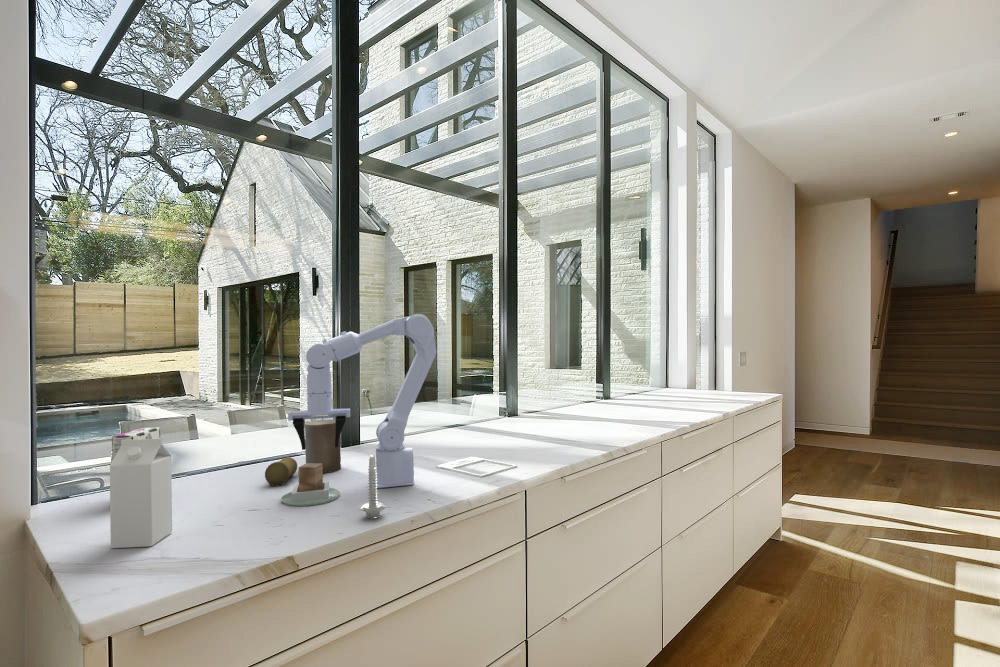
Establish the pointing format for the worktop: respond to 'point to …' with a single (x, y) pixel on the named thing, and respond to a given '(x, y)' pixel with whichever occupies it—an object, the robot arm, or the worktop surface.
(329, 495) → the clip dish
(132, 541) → the milk carton
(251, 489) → the worktop surface
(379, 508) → the screw
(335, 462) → the pillar candle
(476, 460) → the photo frame
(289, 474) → the olive cylinder
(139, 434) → the candy bar box
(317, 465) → the brown tall block
